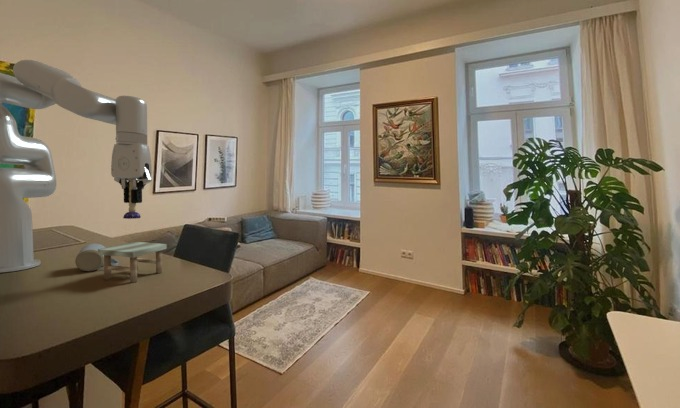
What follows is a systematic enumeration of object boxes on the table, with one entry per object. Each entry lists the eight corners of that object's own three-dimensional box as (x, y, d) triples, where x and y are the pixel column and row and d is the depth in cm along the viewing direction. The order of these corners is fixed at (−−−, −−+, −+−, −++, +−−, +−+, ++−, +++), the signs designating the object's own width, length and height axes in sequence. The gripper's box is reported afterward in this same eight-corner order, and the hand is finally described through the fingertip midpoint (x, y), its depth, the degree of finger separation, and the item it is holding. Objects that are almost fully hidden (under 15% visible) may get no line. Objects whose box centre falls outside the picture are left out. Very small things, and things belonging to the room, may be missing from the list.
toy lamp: (130, 216, 90) (129, 162, 89) (146, 217, 91) (145, 163, 89) (119, 218, 85) (119, 161, 84) (136, 219, 86) (136, 161, 85)
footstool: (98, 280, 84) (97, 249, 84) (135, 268, 96) (134, 241, 96) (133, 284, 82) (133, 252, 82) (166, 271, 94) (166, 244, 93)
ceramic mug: (74, 274, 89) (73, 249, 89) (79, 267, 96) (79, 244, 96) (117, 270, 95) (117, 246, 95) (119, 263, 102) (119, 242, 101)
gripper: (97, 138, 84) (98, 202, 86) (144, 138, 81) (144, 204, 82) (121, 142, 92) (122, 201, 93) (165, 142, 89) (165, 203, 90)
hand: (133, 202), depth 88 cm, fingers closed on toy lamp
